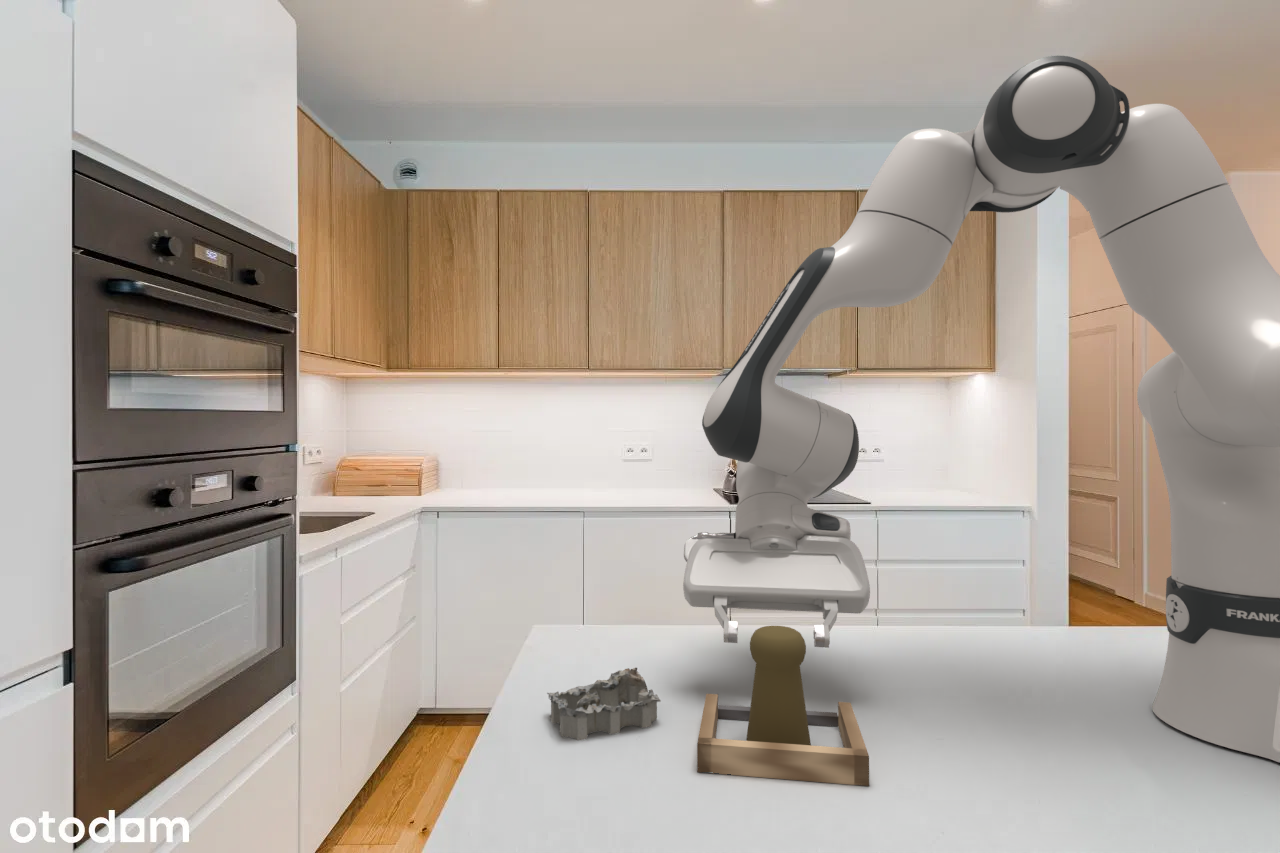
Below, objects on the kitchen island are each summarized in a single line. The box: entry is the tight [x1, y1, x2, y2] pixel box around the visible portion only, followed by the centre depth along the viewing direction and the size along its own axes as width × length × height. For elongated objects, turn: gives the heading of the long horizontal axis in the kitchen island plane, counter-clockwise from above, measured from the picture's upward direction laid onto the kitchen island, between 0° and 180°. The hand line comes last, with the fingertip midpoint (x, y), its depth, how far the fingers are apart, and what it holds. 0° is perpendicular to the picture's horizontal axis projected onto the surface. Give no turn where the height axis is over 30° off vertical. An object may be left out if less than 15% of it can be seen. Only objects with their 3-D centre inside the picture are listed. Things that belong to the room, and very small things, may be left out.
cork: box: [745, 625, 812, 746], centre depth 64 cm, size 6×6×11 cm
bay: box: [696, 693, 870, 787], centre depth 64 cm, size 14×12×2 cm
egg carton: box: [546, 667, 662, 741], centre depth 70 cm, size 11×8×4 cm
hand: (775, 642), depth 71 cm, fingers open, 8 cm apart
